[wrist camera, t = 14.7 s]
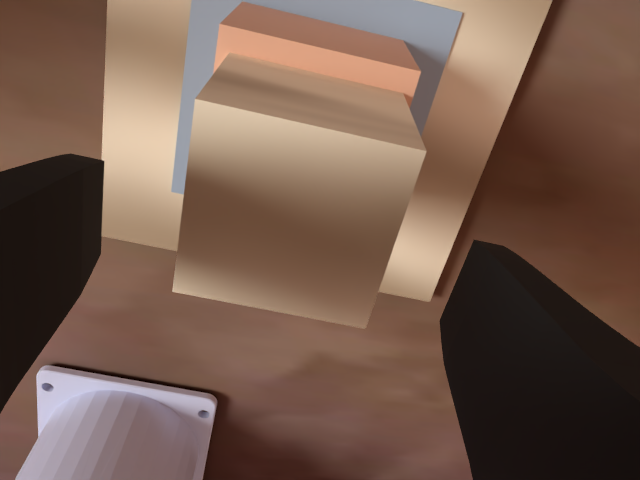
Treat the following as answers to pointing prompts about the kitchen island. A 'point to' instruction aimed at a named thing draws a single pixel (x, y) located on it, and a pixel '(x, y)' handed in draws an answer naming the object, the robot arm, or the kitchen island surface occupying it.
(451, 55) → the baseboard
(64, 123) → the kitchen island surface
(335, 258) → the maple cap block
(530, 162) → the kitchen island surface
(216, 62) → the terracotta base block
